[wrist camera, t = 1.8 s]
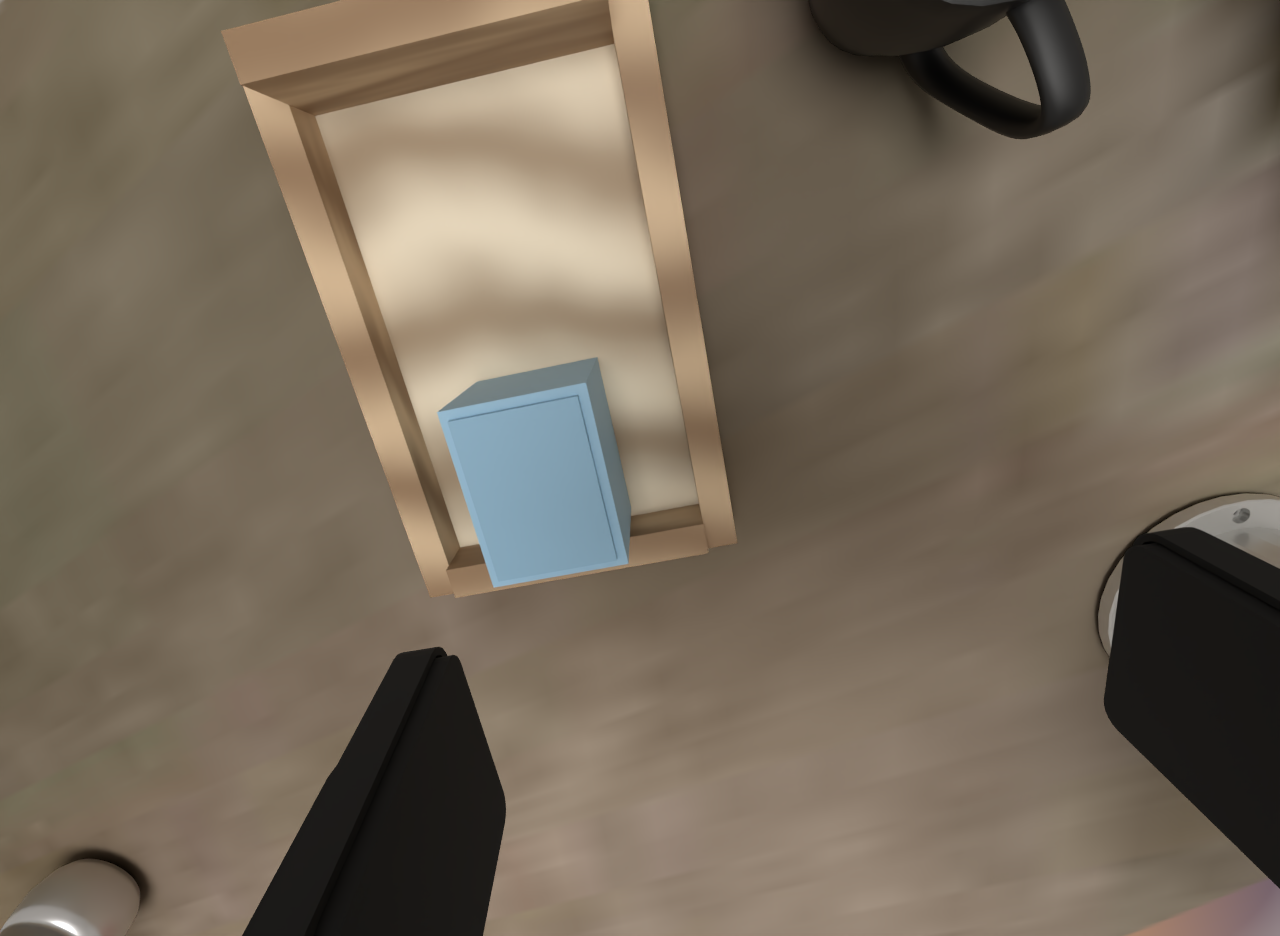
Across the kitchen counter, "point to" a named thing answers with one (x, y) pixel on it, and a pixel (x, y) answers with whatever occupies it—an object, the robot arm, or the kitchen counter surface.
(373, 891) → the robot arm
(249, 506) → the kitchen counter surface
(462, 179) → the tray
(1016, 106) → the mug
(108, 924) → the plastic bottle
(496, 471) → the light blue block
